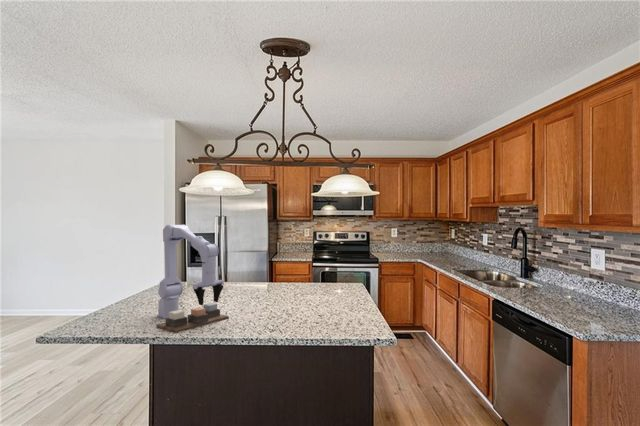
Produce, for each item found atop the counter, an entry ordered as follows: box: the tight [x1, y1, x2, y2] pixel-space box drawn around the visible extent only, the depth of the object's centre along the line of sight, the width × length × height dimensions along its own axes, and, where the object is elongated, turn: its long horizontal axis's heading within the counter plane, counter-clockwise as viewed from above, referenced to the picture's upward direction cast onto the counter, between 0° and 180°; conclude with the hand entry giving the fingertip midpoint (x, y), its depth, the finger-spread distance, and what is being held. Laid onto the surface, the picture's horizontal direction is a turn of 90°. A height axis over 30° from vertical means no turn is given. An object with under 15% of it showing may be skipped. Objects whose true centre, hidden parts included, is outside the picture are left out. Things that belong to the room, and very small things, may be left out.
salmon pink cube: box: [190, 307, 206, 317], centre depth 170 cm, size 4×4×4 cm
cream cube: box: [169, 309, 185, 320], centre depth 164 cm, size 4×4×4 cm
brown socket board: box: [155, 308, 230, 334], centre depth 172 cm, size 14×28×4 cm, turn 145°
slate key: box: [203, 302, 218, 311], centre depth 179 cm, size 4×4×4 cm
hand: (208, 303), depth 167 cm, fingers open, 7 cm apart
